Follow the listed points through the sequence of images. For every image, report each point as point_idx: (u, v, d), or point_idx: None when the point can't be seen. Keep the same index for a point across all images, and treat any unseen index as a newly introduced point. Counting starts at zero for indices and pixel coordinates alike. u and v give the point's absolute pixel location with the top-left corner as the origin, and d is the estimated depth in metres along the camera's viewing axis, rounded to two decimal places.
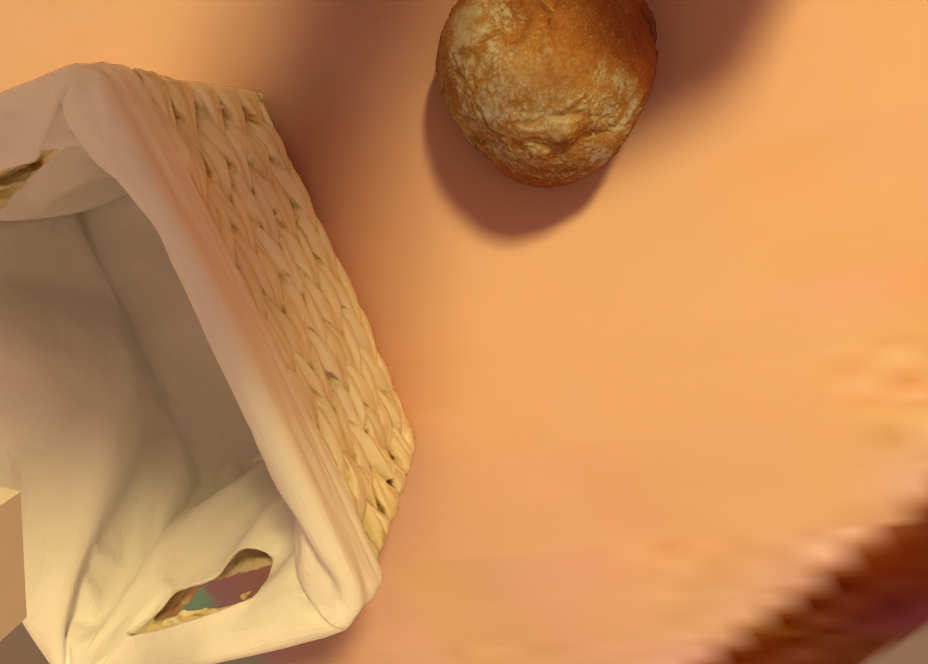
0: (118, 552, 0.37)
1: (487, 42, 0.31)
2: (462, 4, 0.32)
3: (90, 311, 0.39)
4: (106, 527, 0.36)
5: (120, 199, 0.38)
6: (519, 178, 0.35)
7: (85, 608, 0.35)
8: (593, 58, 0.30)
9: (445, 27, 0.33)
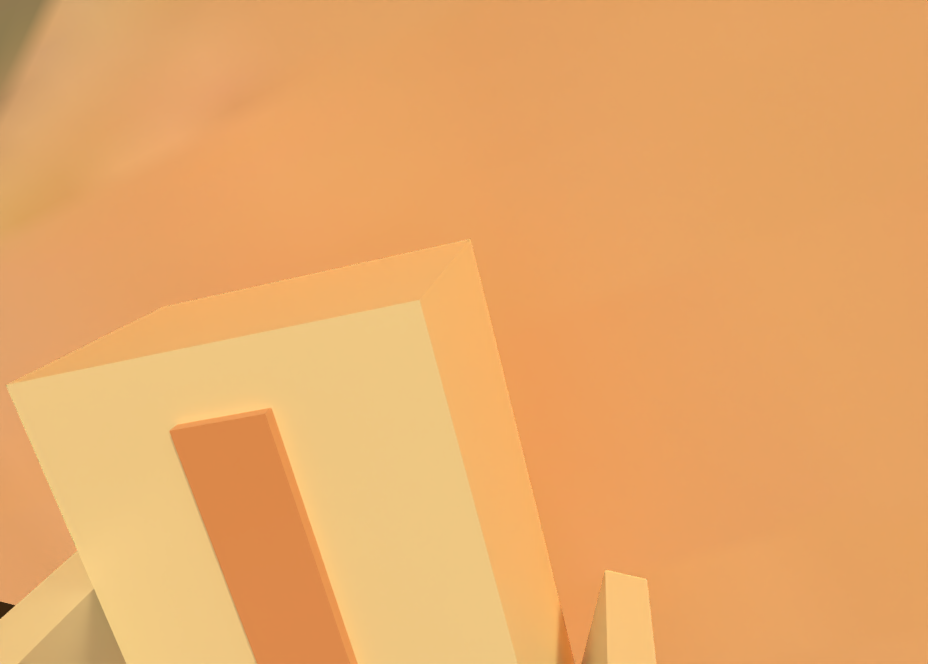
0: None
1: None
2: None
3: None
4: None
5: None
6: None
7: None
8: None
9: None
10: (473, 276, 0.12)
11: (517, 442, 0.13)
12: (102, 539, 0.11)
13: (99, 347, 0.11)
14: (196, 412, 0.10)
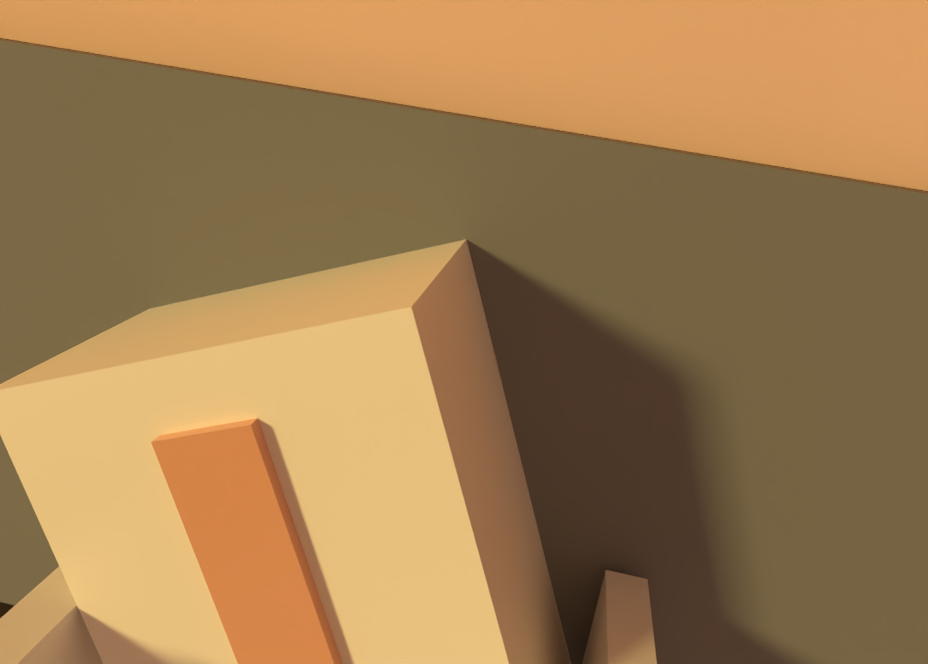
0: None
1: None
2: None
3: None
4: None
5: None
6: None
7: None
8: None
9: None
10: (469, 278, 0.12)
11: (515, 449, 0.13)
12: (83, 552, 0.10)
13: (81, 352, 0.11)
14: (180, 422, 0.10)
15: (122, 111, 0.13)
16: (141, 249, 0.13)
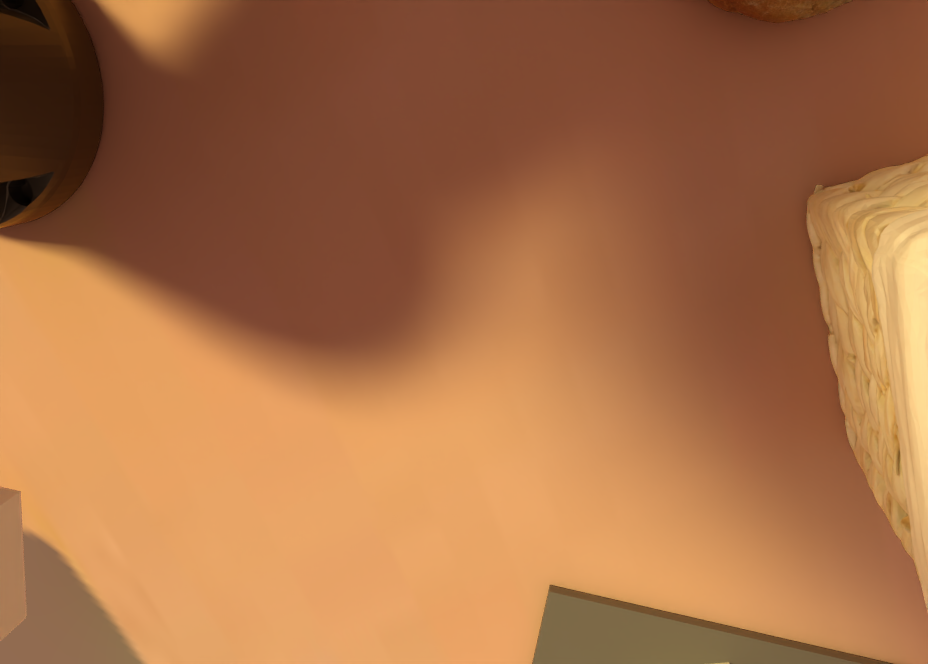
0: None
1: None
2: None
3: None
4: None
5: None
6: None
7: None
8: None
9: (747, 2, 0.30)
10: None
11: None
12: None
13: None
14: None
15: (624, 621, 0.42)
16: (622, 655, 0.43)
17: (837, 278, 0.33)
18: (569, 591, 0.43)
